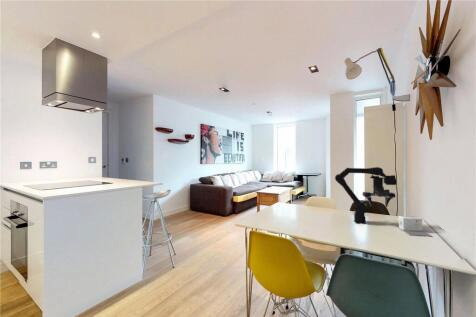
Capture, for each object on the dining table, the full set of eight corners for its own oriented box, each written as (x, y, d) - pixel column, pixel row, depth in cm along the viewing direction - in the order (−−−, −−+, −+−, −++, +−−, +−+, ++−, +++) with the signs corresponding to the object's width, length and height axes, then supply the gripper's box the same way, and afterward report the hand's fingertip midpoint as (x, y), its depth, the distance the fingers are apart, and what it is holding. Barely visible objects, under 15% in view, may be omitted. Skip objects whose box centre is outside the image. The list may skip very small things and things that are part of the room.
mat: (410, 235, 123) (410, 234, 123) (396, 226, 141) (396, 225, 141) (432, 236, 120) (432, 236, 120) (415, 227, 138) (415, 226, 138)
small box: (398, 227, 136) (416, 228, 134) (403, 230, 131) (422, 231, 128) (398, 215, 136) (416, 216, 134) (403, 217, 131) (422, 218, 128)
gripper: (366, 186, 140) (367, 208, 140) (398, 186, 135) (399, 209, 135) (361, 184, 151) (362, 205, 151) (391, 184, 146) (392, 206, 146)
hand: (378, 206), depth 145 cm, fingers open, 9 cm apart
